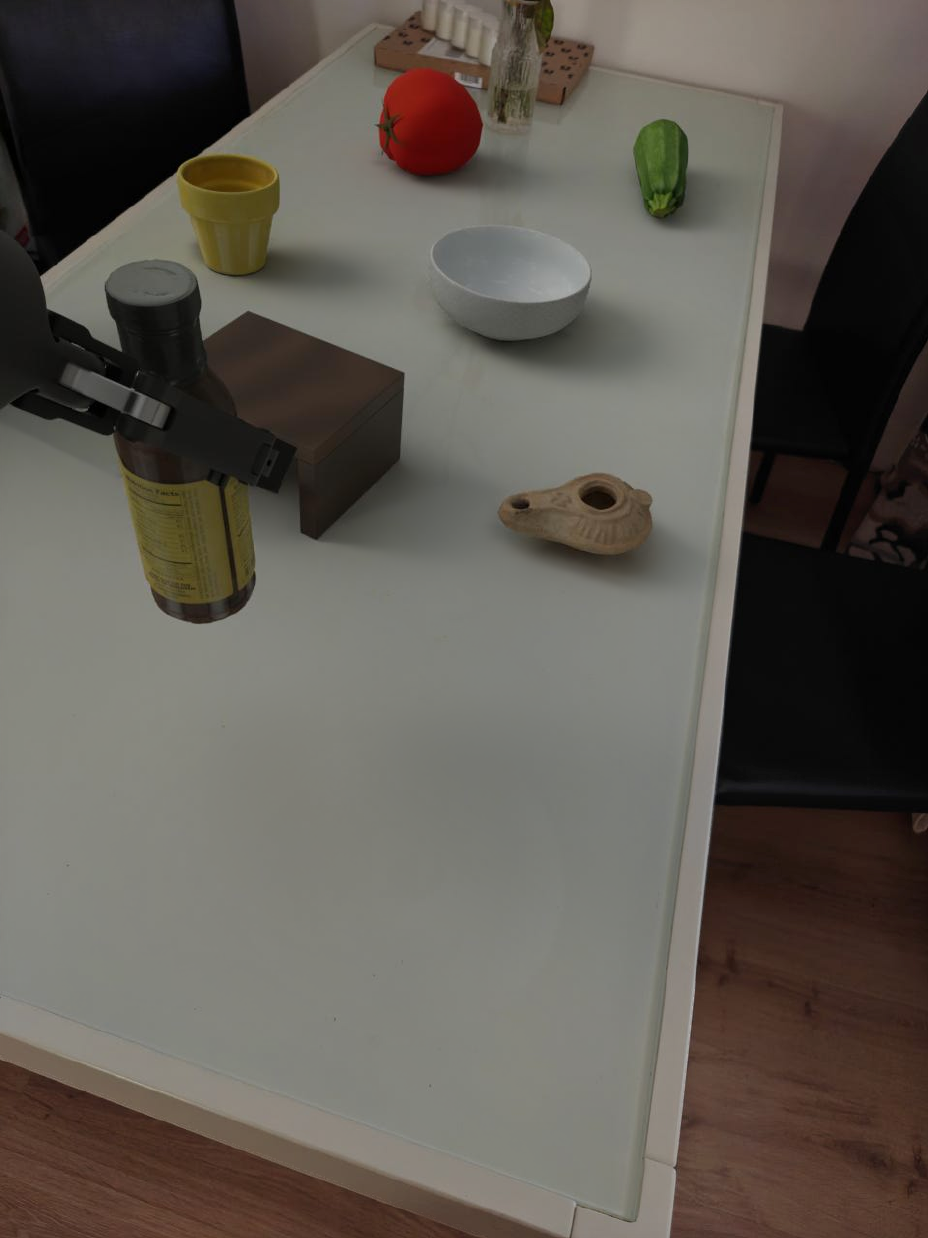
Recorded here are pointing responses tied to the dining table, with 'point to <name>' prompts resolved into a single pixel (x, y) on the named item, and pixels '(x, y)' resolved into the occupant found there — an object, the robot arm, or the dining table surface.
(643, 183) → the vegetable
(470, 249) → the cereal bowl
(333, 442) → the shelf
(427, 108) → the tomato
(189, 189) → the flower pot
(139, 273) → the sauce bottle
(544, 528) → the pottery oil lamp
